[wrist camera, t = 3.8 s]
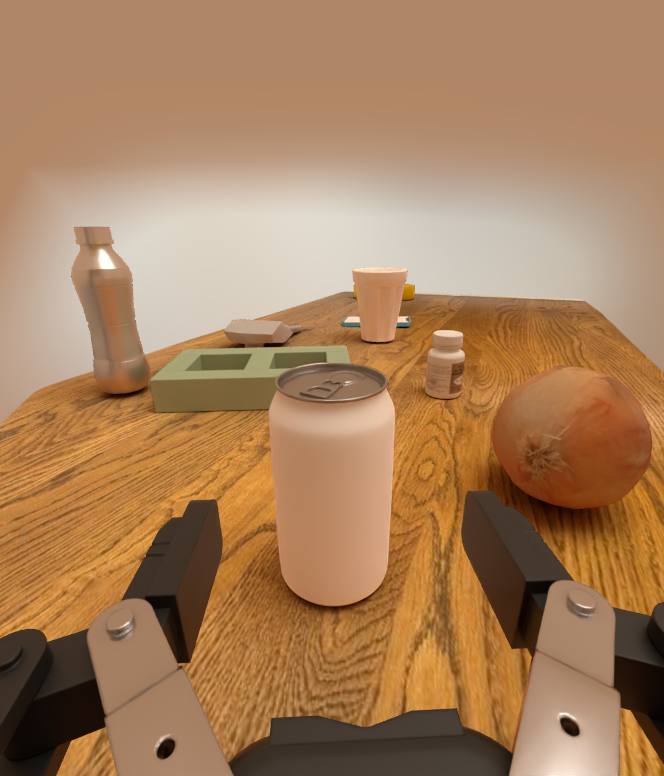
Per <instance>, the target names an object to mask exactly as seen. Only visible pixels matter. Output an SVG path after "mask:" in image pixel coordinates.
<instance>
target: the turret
mask: <svg viewBox="0 0 664 776" xmlns="http://www.w3.org/2000/svg"><path fill="white" fill-rule="evenodd" d="M302 328H303V327H302V326H299V325H290V326H288V325H285V324H284V323H283V322H280V321H263V320H245V319H237V320H232V321H231V323H230V324H229V325H228V326H227V328H226V329H225V330H224V333H225V334H226V336H227V337H228V339H229V340H231V341H233V342H237V343H241V344H244V347H246V348H263V347H264V343H284V342H285V341H286V340H287V339H288V338H289V337H290V336H291V335H292V334H293V333H296V332H299V331H302V330H303V329H302Z"/></svg>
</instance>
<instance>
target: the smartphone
mask: <svg viewBox="0 0 664 776" xmlns="http://www.w3.org/2000/svg"><path fill="white" fill-rule="evenodd" d="M342 326H360V319H359V316H349V317H346V318H345V319H344V320H343V321H342ZM397 326H410V317H409V316H398V321H397Z"/></svg>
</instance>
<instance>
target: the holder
mask: <svg viewBox="0 0 664 776" xmlns="http://www.w3.org/2000/svg"><path fill="white" fill-rule="evenodd" d="M325 362H342V363H351V361H350V357H349V354H348V351H347V347H346V346H306V347H263V348H220V349H185V350H184V351H183V352H182V353H180V354H179V355H178V356H177V357H176V358H175V359H173V360H172V361H171V362H170V363H169V364H168V365H166V366H165V367H164V368H163V369H162V370H161V371H159V372H158V373H157V374H156V375H155V376H154V377H152V378H151V379H150V380H149V382H150V387H151V392H152V397H153V402H154V408H155V412H156V413H158V412H194V411H229V410H264V409H270V405H271V403H272V400H273V398H274V396H275V393H276V391H277V389H276V387H275V380H276V378H277V377H278V376H279V375H280V374H281V373H283V372H284V371H286V370H289V369H291V368H294V367H298V366H302V365H307V364H314V363H325Z"/></svg>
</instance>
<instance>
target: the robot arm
mask: <svg viewBox="0 0 664 776" xmlns="http://www.w3.org/2000/svg"><path fill="white" fill-rule="evenodd" d="M461 536H462V543H463V547H464V550H465V552H466V554H467V556H468V558H469V560H470V562H471V564H472V567H473V569H474V571H475V573H476V575H477V577H478V579H479V581H480V583H481V585H482V588H483V590H484V592H485V594H486V596H487V598H488V600H489V602H490V604H491V606H492V608H493V611H494V613H495V615H496V617H497V619H498V621H499V623H500V625H501V627H502V629H503V632H504V634H505V636H506V638H507V640H508V642H509V644H510V646H511V648H512V649H518V648H527V649H528V651H529V652H530V654H531V656H532V659H531V663H530V668H529V672H528V677H527V681H526V686H525V690H524V695H523V699H522V703H521V708H520V712H519V717H518V721H517V726H516V730H515V735H514V739H513V743H512V747H511V751H508V750H507V749H506V748H505V747H504V746H502V745H501V744H499V743H498V742H496V741H495V740H493V739H492V738H490V737H488V736H486V735H484V734H482V733H480V732H478V731H475V730H473V729H470V728H467V727H464V726H462V724H461V721H460V718H459V714H458V711H457V708H455V709H436V710H417V711H410V712H407V713H405V714H402V715H399V716H397V717H394V718H391V719H389V720H386V721H383V722H381V723H378V724H376V725H373V726H370V727H360V726H356V725H352V724H348V723H344V722H340V721H336V720H332V719H328V718H324V717H321V716H303V717H284V718H271V728H270V736H267V737H265V738H262V739H260V740H258V741H256V742H255V743H253V744H251V745H249V746H248V747H246V748H245V749H244V750H242V751H241V752H239V753H238V754H237V755H236V756H235V757H234V758H233V759H231V760H230V761H229V762H227V760H226V758H225V756H224V754H223V752H222V749H221V747H220V745H219V743H218V741H217V739H216V736H215V734H214V732H213V730H212V728H211V725H210V723H209V721H208V719H207V717H206V715H205V712H204V710H203V708H202V706H201V704H200V702H199V699H198V697H197V695H196V693H195V691H194V689H193V686H192V684H191V682H190V680H189V678H188V676H187V673H186V671H185V670H184V668H183V667H182V666H180V667H179V665H178V663H190V661H191V658H192V654H193V651H194V648H195V644H196V641H197V637H198V634H199V631H200V627H201V624H202V620H203V617H204V614H205V610H206V607H207V604H208V600H209V597H210V593H211V590H212V587H213V583H214V580H215V577H216V573H217V570H218V566H219V563H220V560H221V555H222V533H221V526H220V519H219V512H218V505H217V502H216V500H191V501H190V502H189V504H188V506H187V508H186V510H185V512H184V514H183V516H182V517H177V518H172V519H170V520H169V521H168V522H167V523H166V524H165V525H164V526H163V527H162V528H161V529H160V530H159V531H158V533H157V535H156V537H155V539H154V541H153V542H152V546H150V548H149V550H148V552H147V554H146V557H144V559H143V561H142V563H141V565H140V567H139V569H138V570H137V572H136V574H135V576H134V578H133V580H132V582H131V584H130V585H129V587H128V589H127V591H126V593H125V595H124V597H123V598H122V600H121V601H120V602H118V603H115V604H113V605H112V606H110V607H108V608H107V609H106V610H104V611H103V612H102V613H101V614H100V615H99V616H98V617H97V618H96V619H95V620H94V621H93V623H92V624H91V626H90V628H88V629H86V630H83V631H81V632H78V633H74V634H71V635H68V636H65V637H62V638H59V639H55V640H52V641H49V642H48V641H47V639H46V636H45V635H44V633H43V632H41V631H39V630H36V629H25V630H20V631H16V632H14V633H11V634H9V635H7V636H4V637H2V638H1V639H0V776H56V775H57V772H58V770H59V768H60V765H61V763H62V761H63V758H64V756H65V754H66V752H67V749H68V747H69V745H70V742H71V741H72V740H74V739H77V738H79V737H82V736H84V735H87V734H89V733H92V732H94V731H97V730H99V729H102V728H104V727H106V730H107V734H108V738H109V742H110V746H111V750H112V755H113V759H114V763H115V767H116V771H117V775H118V776H620V707H621V708H624V709H627V710H631V712H632V713H633V715H634V717H635V718H636V720H637V722H638V723H639V725H640V726H641V728H642V730H643V731H644V733H645V735H646V736H647V738H648V740H649V741H650V743H651V744H652V746H653V748H654V749H655V751H656V753H657V754H658V756H659V758H660V759H661V761H662V762H663V764H664V602H662V603H659V604H657V605H656V606H655V607H654V609H653V612H652V614H651V616H649V615H644V614H640V613H635V612H631V611H626V610H622V609H618V608H614V607H612V606H611V605H610V603H609V602H608V601H607V600H606V599H605V598H604V597H603V596H602V595H601V594H600V593H598V592H597V591H596V590H594V589H592V588H591V587H589V586H587V585H584V584H582V583H579V582H575V581H574V580H573V579H572V577H571V576H570V575H569V573H568V572H567V571H566V569H565V568H564V567H563V565H562V564H561V563H560V561H559V560H558V559H557V557H556V556H555V555H554V553H553V552H552V551H551V549H550V548H549V547H548V545H547V544H546V543H544V542H543V539H542V538H541V536H540V535H539V534H538V532H536V531H535V528H534V527H533V526H532V524H531V523H530V522H529V520H528V519H527V518H526V517H525V516H524V515H523V514H521V513H520V512H519V511H517V510H516V509H514V508H513V507H512V506H504V505H503V504H502V502H501V501H500V499H499V498H498V497H497V495H496V494H495V493H494V492H493V491H469V492H467V494H466V499H465V506H464V514H463V522H462V530H461Z"/></svg>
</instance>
